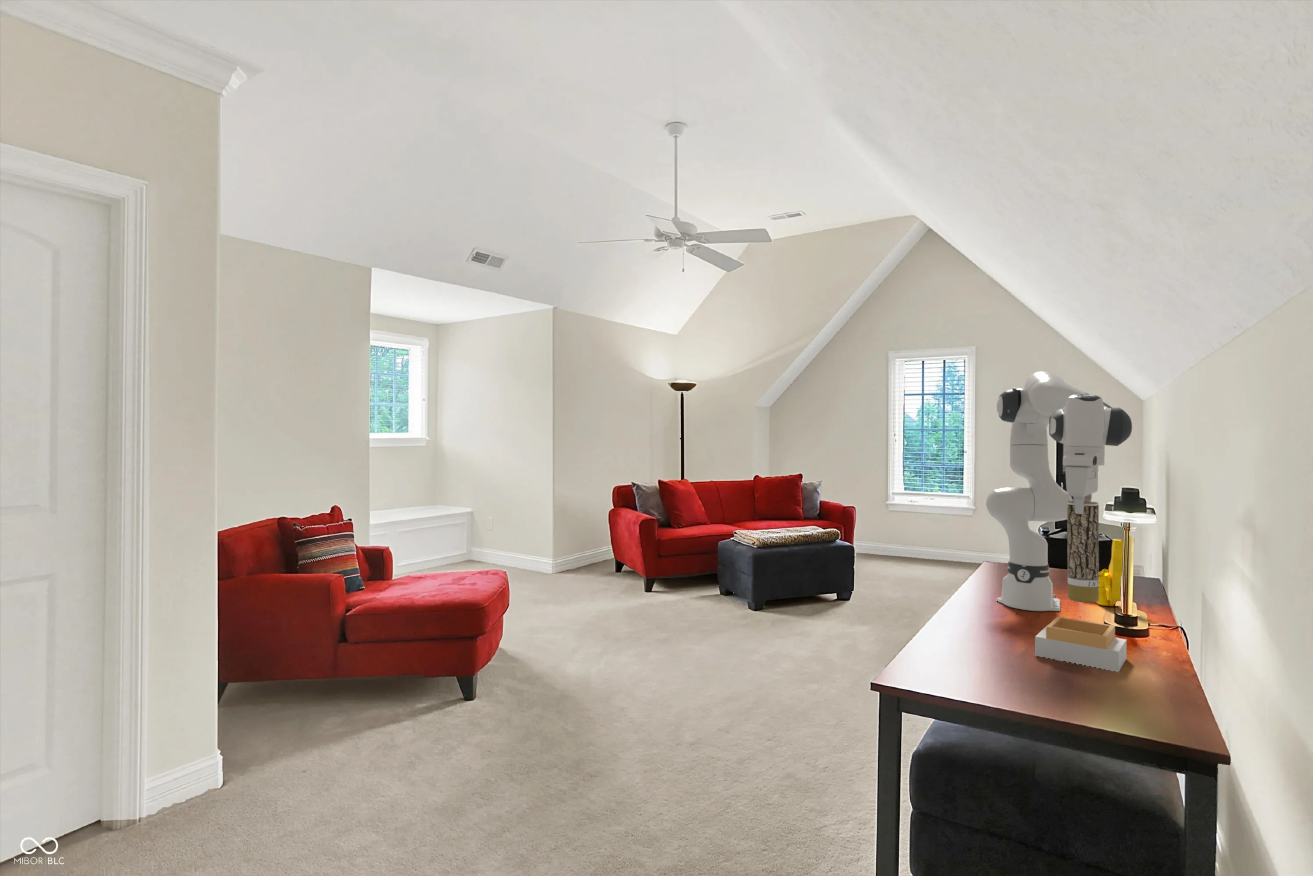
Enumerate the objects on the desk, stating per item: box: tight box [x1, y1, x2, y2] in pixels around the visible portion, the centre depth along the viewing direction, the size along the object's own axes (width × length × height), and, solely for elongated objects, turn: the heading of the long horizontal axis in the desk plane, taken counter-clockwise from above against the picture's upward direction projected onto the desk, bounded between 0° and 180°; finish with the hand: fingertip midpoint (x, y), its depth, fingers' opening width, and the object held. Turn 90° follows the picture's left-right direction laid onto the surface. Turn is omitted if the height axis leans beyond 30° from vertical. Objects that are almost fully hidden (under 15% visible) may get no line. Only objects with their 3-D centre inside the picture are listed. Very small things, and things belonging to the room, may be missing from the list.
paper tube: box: [1066, 500, 1100, 604], centre depth 177 cm, size 7×7×25 cm
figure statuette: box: [1096, 538, 1124, 607], centre depth 230 cm, size 18×8×22 cm, turn 158°
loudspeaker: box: [1034, 616, 1128, 673], centre depth 177 cm, size 13×18×8 cm
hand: (1082, 512), depth 177 cm, fingers closed on paper tube, 7 cm apart
